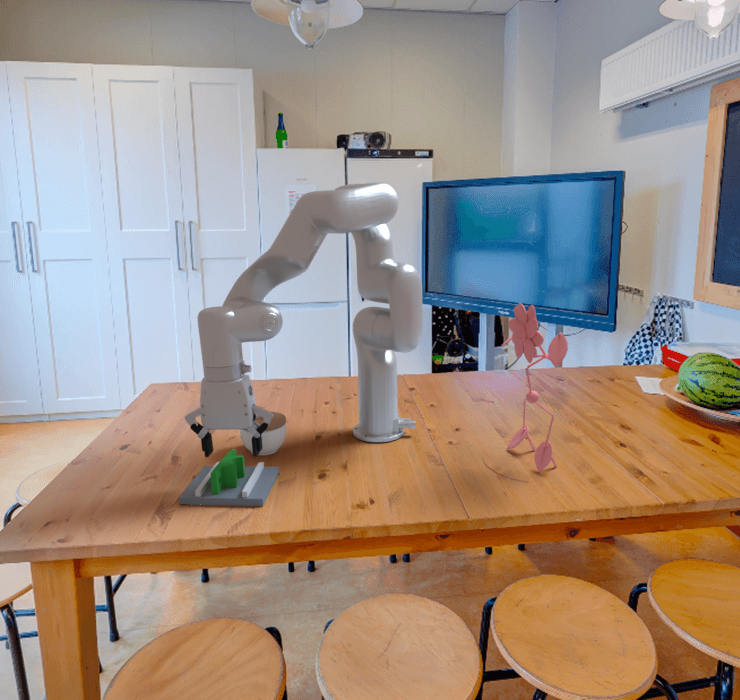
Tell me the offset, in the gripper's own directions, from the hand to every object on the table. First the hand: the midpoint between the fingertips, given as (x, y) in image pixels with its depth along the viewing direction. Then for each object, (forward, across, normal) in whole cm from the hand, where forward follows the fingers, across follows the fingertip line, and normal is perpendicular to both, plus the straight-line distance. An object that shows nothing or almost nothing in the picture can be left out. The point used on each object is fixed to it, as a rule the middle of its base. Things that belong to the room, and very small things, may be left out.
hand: (233, 454), depth 114 cm
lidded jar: (+8, -1, -18) cm, 20 cm away
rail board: (+7, +1, +1) cm, 7 cm away
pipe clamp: (+6, +1, +1) cm, 6 cm away
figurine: (+9, -58, -13) cm, 60 cm away
